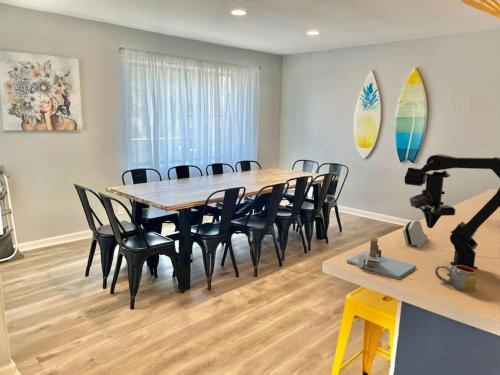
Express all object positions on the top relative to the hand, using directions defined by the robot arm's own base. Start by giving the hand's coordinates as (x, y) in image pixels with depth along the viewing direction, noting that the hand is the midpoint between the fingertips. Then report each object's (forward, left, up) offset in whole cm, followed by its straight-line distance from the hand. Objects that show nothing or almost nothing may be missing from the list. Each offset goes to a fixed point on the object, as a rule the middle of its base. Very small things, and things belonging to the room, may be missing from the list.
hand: (429, 227), depth 143 cm
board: (-5, +22, -12) cm, 26 cm away
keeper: (-8, +27, -12) cm, 31 cm away
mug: (-24, +6, -12) cm, 27 cm away
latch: (-3, +24, -11) cm, 26 cm away
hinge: (+19, -7, -12) cm, 24 cm away
